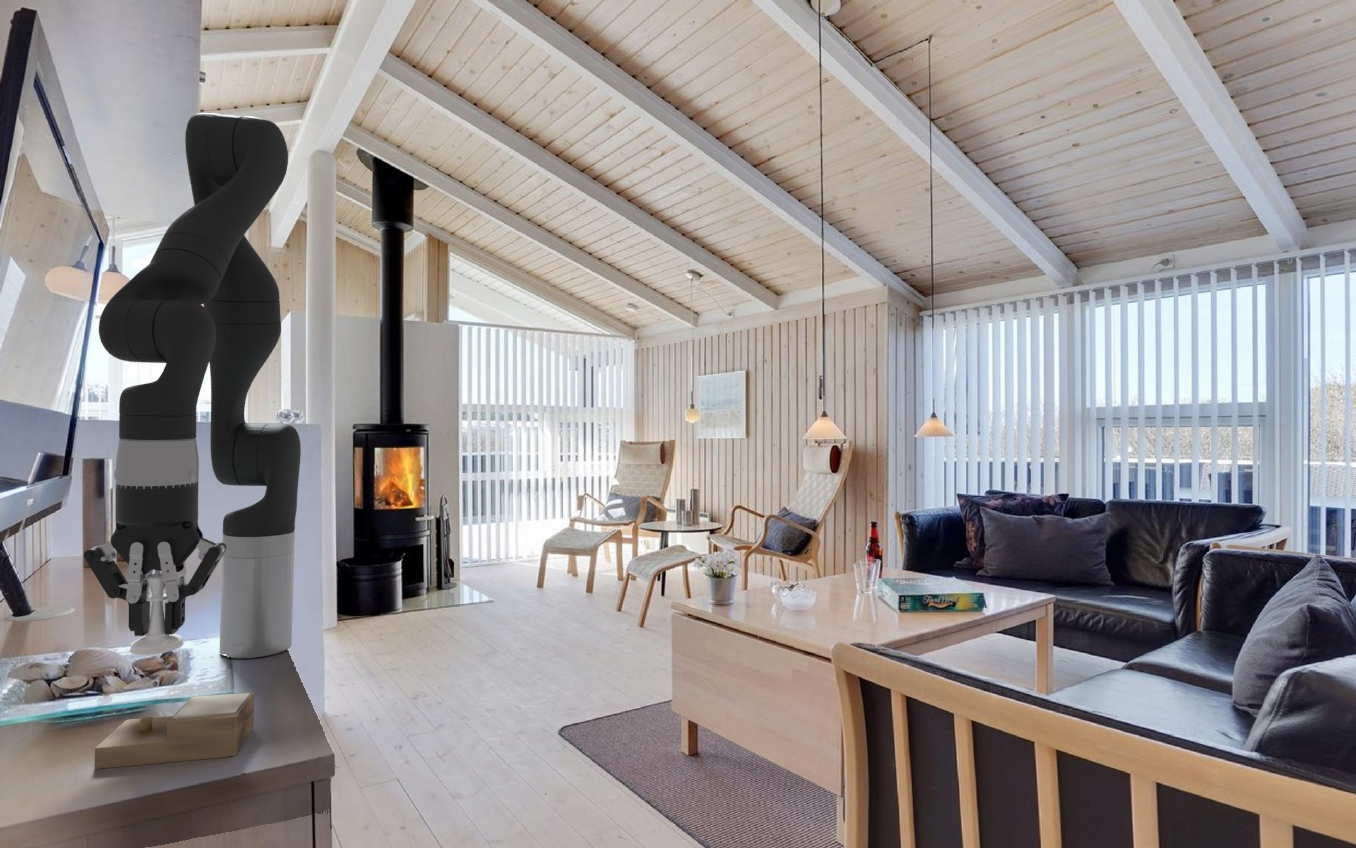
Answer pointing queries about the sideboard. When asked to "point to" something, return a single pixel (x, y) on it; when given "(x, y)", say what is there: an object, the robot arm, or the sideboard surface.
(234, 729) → the stepped wooden block
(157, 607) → the chess piece
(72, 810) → the sideboard surface
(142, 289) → the robot arm
